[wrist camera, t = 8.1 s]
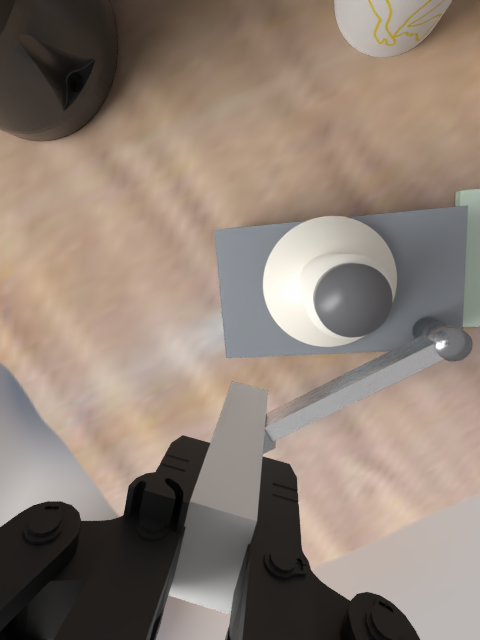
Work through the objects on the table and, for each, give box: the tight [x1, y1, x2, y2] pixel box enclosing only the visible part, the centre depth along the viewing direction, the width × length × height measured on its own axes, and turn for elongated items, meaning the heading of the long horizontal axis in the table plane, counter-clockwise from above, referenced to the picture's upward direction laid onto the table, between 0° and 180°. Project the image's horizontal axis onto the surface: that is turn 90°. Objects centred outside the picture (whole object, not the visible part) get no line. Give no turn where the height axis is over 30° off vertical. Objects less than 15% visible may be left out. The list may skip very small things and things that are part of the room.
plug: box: [263, 216, 397, 347], centre depth 22 cm, size 9×9×14 cm
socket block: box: [214, 205, 468, 358], centre depth 27 cm, size 10×18×5 cm, turn 95°
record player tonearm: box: [263, 317, 472, 454], centre depth 24 cm, size 2×16×4 cm, turn 122°
